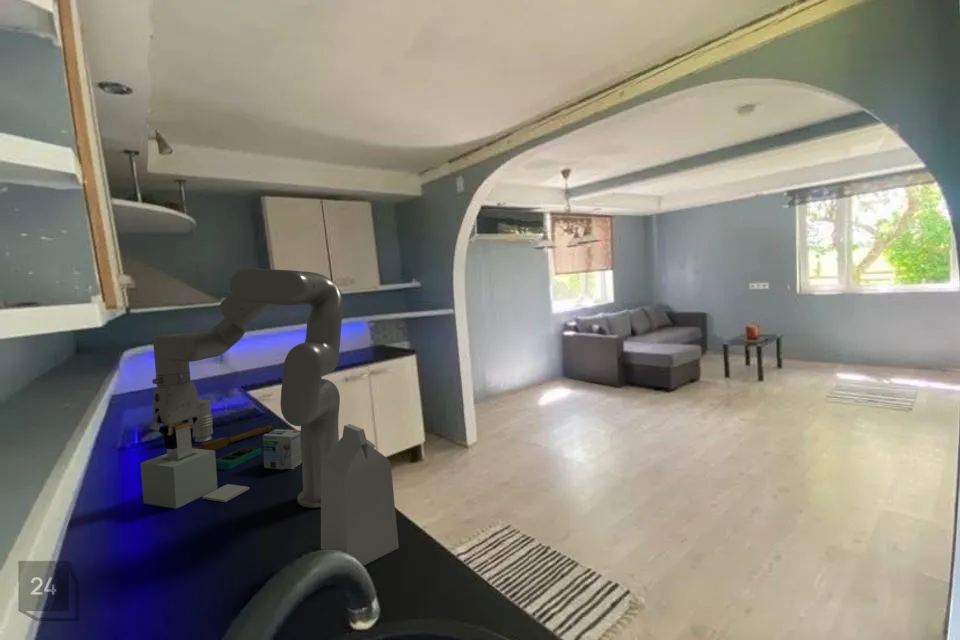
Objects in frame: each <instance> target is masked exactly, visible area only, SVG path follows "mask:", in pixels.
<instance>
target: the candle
mask: <svg viewBox="0 0 960 640" xmlns="http://www.w3.org/2000/svg"><path fill="white" fill-rule="evenodd" d="M198 400H199V406H200V411H201V412H202V415H201V416H200V417H199V418H198V419H197V421H196V422H195V424H194V427H193V428H192V438H194V443H204V442H208V441H211V440H213V436H212V435H213V434H214V429H213V424H214V423H213V421H214V420H213V413H212V407H211V402H212V400H211V399H208V398H207V399H198Z"/></svg>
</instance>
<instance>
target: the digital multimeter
mask: <svg viewBox="0 0 960 640" xmlns="http://www.w3.org/2000/svg"><path fill="white" fill-rule="evenodd" d="M261 453H262V454H263V449H262V448H261V447H257V446H251V445H250V446H244V447H240V449H237V450H235V451H233V452H230V453H228V454H225V455H223V456H221V457H219V458H216V470H228V471H229V470H231V469H234V468H235V467H237V466H239V465H241V464H244V463H246V462H248V461H250V460H252V459H254V458H256V457H255V456H257V455H259V454H261ZM262 454H261V455H262ZM259 456H260V455H259ZM253 457H254V458H253ZM257 457H258V456H257ZM251 458H252V459H251ZM249 459H250V460H249ZM247 460H248V461H247Z"/></svg>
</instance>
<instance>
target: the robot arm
mask: <svg viewBox="0 0 960 640" xmlns="http://www.w3.org/2000/svg"><path fill="white" fill-rule="evenodd" d="M229 289H230V292H231V293H230V294H229V295H227V297H226V298H224V299H223V300H222V301H221V302H220V304H219V310H220V312H221V314H222V316H223V317H224V318H223V319H222V320H221V321H220V322H218V324H217V325H215V326H214V327H213V328H212V329H211V330H208V331H207V330H206V331H198V332H196V331H195V332H189V333H184V334H183V333H172V334H160V335H156V336H155V337H154V338H153V340H152V344H153V345H152V346H153V355H154V356H153V357H154V366H155V378H153V379H152V384H153V385H156V386H155V387H154V390H153V399H152V414H153V415H152V416H153V419H152V421H151V422H150V425H149V426H148V427H149V429H150V430H153V431H157V432H158V433H160V435H163V441H164V442H163V443H164V448H165V450H167V449H175V448H176V441H175V434H173V425H174V423H177V422H190V425H191V426H190V432H191V444H192V443H193V427H194V424H195V422H196V421H197V419H198V418H199V417H200V416H201V415H202V412H201V411H200V406H199V400H200V399H199V395H198V391H197V388H196V385H195V382H194V381H193V380H192V381H191V373H190V372H191V371H190V369H191V368H190V362H191V363H193V362H198V361H202V360H206V359H207V360H208V359H212V358H216V357H220V356H221V355H223V354H225V353H226V352H227V351H229V350H230V349H231V348H232V347H234V345H235V344H237V343H238V342H240V340H241V339H243V337H244V335H245V333H246V331H247V329H248V325H249V324H250V323H251V322H252V321H253V320H254V319H256V318H257V317H258V316H259V315H260V314H261V313H262V312H263V311H265V310H266V309H267V308H268V307H270V306H271V305H283V306H306V305H308V306H310V307H311V308H310V312H309V316H308V318H307V322H306V333H305V338H304V339H305V341H304V342H302V343H301V342H300V343H299V344H296V345H295V346H293V347H292V348H290V350H289V351H288V353H286V356H285V358H284V361H283V368H282V379H281V392H280V411H281V414H282V417H283V418H284V421H286V422H287V423H289V424H290V425H292V426H294V427H300V430H301V431H300V438H301V458H302V465H301V473H302V489H303V490H302V491H301V492H300V493H298V495H297V498H296V499H297V500H296V502H297V504H298V505H300V506H302V507H303V508H313V509H315V508H321V465H322V462H323V460H324V458H325V457H326V456H327V454H328V453H329V452H330V451H331V450H332V449H333V447H334V446H335V445H336V444H337V443H338V441H339V440H340V439H339V437H340V436H339V435H340V434H339V433H340V431H339V416H340V415H339V414H340V403H341V397H340V392H339V388H338V387H337V385H336V384H335V383H334V382H333V381H331V380H329V379H325V378H322V377H324V376H326V375H329V374H331V373H332V372H334V371H335V370H336V368H337V367H338V365H339V358H340V346H341V335H342V334H341V333H342V321H343V313H344V300H343V294H342V292H341V289H340V288H339V287H338V285H337V284H336V283H335V282H334V281H333V280H332V279H331V278H329V277H327V276H326V275H325V274H324V275H323V274H320V273H317V272H311V271H302V270H301V271H300V270H293V269H292V270H291V269H273V268H271V269H269V268H259V267H244V268H241V269H238V270H237V271H236V272H235V273H234V274H233V275H232V277H231V279H230V281H229ZM160 424H161V425H160ZM167 425H168V428H167Z"/></svg>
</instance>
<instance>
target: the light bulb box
mask: <svg viewBox="0 0 960 640" xmlns="http://www.w3.org/2000/svg"><path fill="white" fill-rule="evenodd" d="M300 431H301V429H299V430H298V429H297V430H296V429H279V428H275V429H274V430H272V431H271V432H269V433H264V434H262V444H263V445H262V448H263V449H262V451H263V466H264V468H265V469H275V470H284V469H293V470H295V469H296V468H295V467H297V466H298V465H300V464H301V463H302V458H301V438H300ZM300 466H301V465H300ZM298 467H299V466H298ZM298 467H297V468H298ZM294 468H295V469H294Z"/></svg>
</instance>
